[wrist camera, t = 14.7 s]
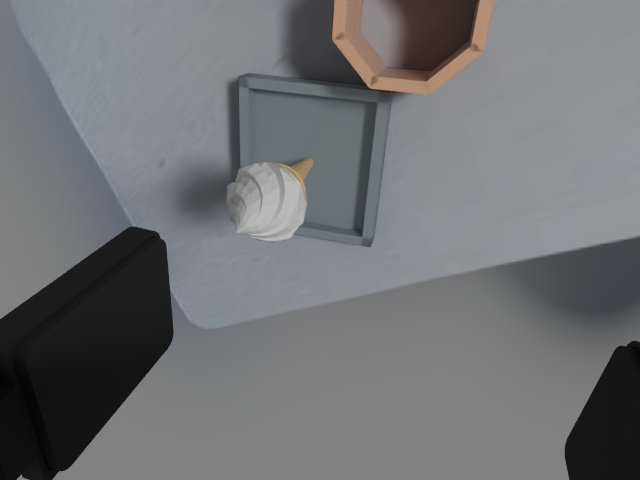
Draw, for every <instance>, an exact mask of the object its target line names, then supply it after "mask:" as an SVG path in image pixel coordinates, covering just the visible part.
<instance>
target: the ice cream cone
mask: <svg viewBox="0 0 640 480" xmlns="http://www.w3.org/2000/svg"><path fill="white" fill-rule="evenodd" d="M313 163H314V161H313V159H312V158H306V159H305V160H303V161H301V162H299V163H296V164H295V165H293V166H290V167H289V166H287V165H284V164H280V163H273V162H258V163H255V164H252V165H249V166H246V167H243V168H241V169H239V170H238V173H237V177H236V180H235V182H232V183H230V184H229V185H228V186H227V203H226V205H227V206H229V212H230V215H231V218H232V220H233V221H234V223H235V225H236V227H235V230H236V233H244V234H246V235H248V236H250V237H251V238H255V239H257V240H259V241H264V242H270V243H275V242H279V241H282V240H286V239H290V238H291V237H292V235H293V234H294V232H295V231H296V230H297V228H298V227H299V226H300V225H302V224H303V222H304V217H305V213H306V208H307V199H306V189H305V185H304V183H303V181H304V179H305V177H306V176H307V174H308V172H309V170H310V169H311V167H312V166H313Z"/></svg>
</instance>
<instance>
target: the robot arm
mask: <svg viewBox="0 0 640 480" xmlns="http://www.w3.org/2000/svg"><path fill="white" fill-rule="evenodd" d="M172 338H173V321H172V308H171V296H170V285H169V273H168V261H167V249H166V243H165V241H164V240H162V239H160V236H159V234H158V233H157V232H156V231H151V230H147V229H143V228H138V227H129V228H127V229H126V230H124V231H123V232H121V233H120V234H119V235H118V236H116V237H114V238H113V239H112V240H110V241H109V242H107V243H106V244H105V245H103V246H102V247H101V248H99V249H98V250H97V251H95V252H94V253H92V254H91V255H89V256H88V257H87V258H85V259H84V260H82V261H81V262H80V263H78V264H77V265H75V266H74V267H73V268H71V269H70V270H68V271H67V272H66V273H64V274H63V275H62V276H60V277H59V278H57V279H56V280H54V281H53V282H52V283H50V284H49V285H47V286H46V287H45V288H43V289H42V290H41V291H39V292H38V293H37V294H35V295H34V296H32V297H31V298H29V299H28V300H27V301H25V302H24V303H23V304H21V305H20V306H18V307H17V308H15V309H14V310H13V311H11V312H10V313H8V314H7V315H6V316H4V317H3V318H1V319H0V480H17V478H18V477H19V476H20V475H21V474H22V477H23V478H26V479H29V480H52V479H53V478H54V477H55V476H56V474H57V473H58V472H59V471H64V470H66V469H68V468H69V467H70V466H71V465H72V464H73V463H74V462H75V461H76V459H77V458H78V457H79V456H80V454H81V453H82V452H83V451H84V450H85V448H86V447H87V446H88V445H89V443H90V442H91V441H92V440H93V439H94V437H95V436H96V435H97V434H98V433H99V431H100V430H101V429H102V427H103V426H104V425H105V424H106V423H107V422H108V420H109V419H110V418H111V417H112V416H113V414H114V413H115V412H116V411H117V410H118V408H119V407H120V406H121V405H122V403H123V402H124V401H125V400H126V399H127V397H128V396H129V395H130V394H131V393H132V391H133V390H134V389H135V388H136V386H137V385H138V384H139V383H140V382H141V380H142V379H143V378H144V377H145V375H146V374H147V373H148V372H149V371H150V369H151V368H152V367H153V365H155V363H156V362H157V361H158V360H159V358H160V357H161V356H162V355H163V354H164V352H165V351H166V350H167V349H168V347H169V346H170V344H171V342H172ZM565 460H566V465H567V470H568V475H569V479H570V480H640V342H638V341H632V342H630V343H629V344H628V345H627V346H626V347H625V346H619V347H617V348H616V349H615V351H614V353H613V354H612V356H611V358H610V360H609V362H608V364H607V366H606V368H605V369H604V371H603V373H602V375H601V377H600V379H599V381H598V382H597V384H596V386H595V388H594V390H593V392H592V394H591V395H590V397H589V399H588V401H587V403H586V405H585V407H584V408H583V410H582V412H581V414H580V416H579V418H578V420H577V422H576V423H575V425H574V427H573V429H572V431H571V433H570V435H569V436H568V439H567V441H566V445H565Z"/></svg>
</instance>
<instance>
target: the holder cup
mask: <svg viewBox="0 0 640 480" xmlns="http://www.w3.org/2000/svg"><path fill="white" fill-rule="evenodd" d="M362 3H363V0H335V3H334V18H333V33H332V39H333V42H334V43H335V44H336V45H337V47H338V48H339V49H340V51H341V52H342V53H343V55H344V56H345V57H346V58H347V60H348V61H349V62H350V64H351V65H352V66H353V68H354V69H355V70H356V71H357V73H358V74H359V75H360V77H361V78H362V79H363V81H364V82H365V83H366V84H367V86H368V87H369V88H370V89H379V90H388V91H398V92H407V93H417V94H426V95H429V94H431V93H433V92H434V91H435V90H436V89H438V88H439V87H440V86H441V85H443V84H444V83H445V82H447V81H448V80H449V79H450V78H452V77H453V76H454V75H456V74H457V73H458V72H459V71H461V70H462V69H463V68H465V67H466V66H467V65H468V64H470V63H471V62H472V61H473V60H475V59H476V58H477V57H479V56H480V55H481V54H482V52H484V47H485V42H486V37H487V33H488V28H489V23H490V18H491V13H492V8H493V3H494V0H477V3H476V8H475V14H474V19H473V24H472V29H471V35H470V40H469V41H468V42H467V43H465V44H464V45H463V46H462V47H460V48H459V49H458V50H457V51H456V52H454V53H453V54H452V55H451V56H449V57H448V58H447V59H446V60H444V61H443V62H442V63H441V64H439V65H438V66H437V67H436V68H434V69H433V70H432V71H421V70H410V69H400V68H390V67H386V65H385V64H384V63H383V61H382V60H381V59H380V57H379V56H378V55H377V53H376V52H375V51H374V49H373V48H372V47H371V45H370V44H369V43H368V41H367V40H366V39H365V37H364V36H363V35H362V33H361V32H360V25H361V14H362Z"/></svg>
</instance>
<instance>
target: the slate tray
mask: <svg viewBox="0 0 640 480" xmlns="http://www.w3.org/2000/svg"><path fill="white" fill-rule="evenodd" d="M392 92H393V91H388V90H379V89H370V88H369V87H368V86H365V85H355V84H346V83H336V82H327V81H317V80H308V79H298V78H289V77H279V76H270V75H260V74H251V73H248V74H245V75H242V76H239V119H240V169H241V168H243V167H246V166H249V165H252V164H255V163H258V162H273V163H280V164H284V165H287V166H289V167H290V166H293V165H295V164H296V163H299V162H301V161H303V160H305V159H306V158H312V159H313V161H314V163H313V166H312V167H311V169H310V170H309V172H308V174H307V176H306V177H305V179H304V181H303V183H304V185H305V189H306V199H307V208H306V213H305V217H304V222H303V224H302V225H300V226H299V227H298V228H297V230H296V231H295V232H294V234H298V235H304V236H309V237H315V238H321V239H327V240H332V241H338V242H344V243H349V244H355V245H361V246H366V247H371V244H372V242H373V239H374V234H375V226H376V218H377V210H378V202H379V194H380V186H381V179H382V171H383V163H384V155H385V147H386V139H387V131H388V123H389V115H390V108H391V100H392Z"/></svg>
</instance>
